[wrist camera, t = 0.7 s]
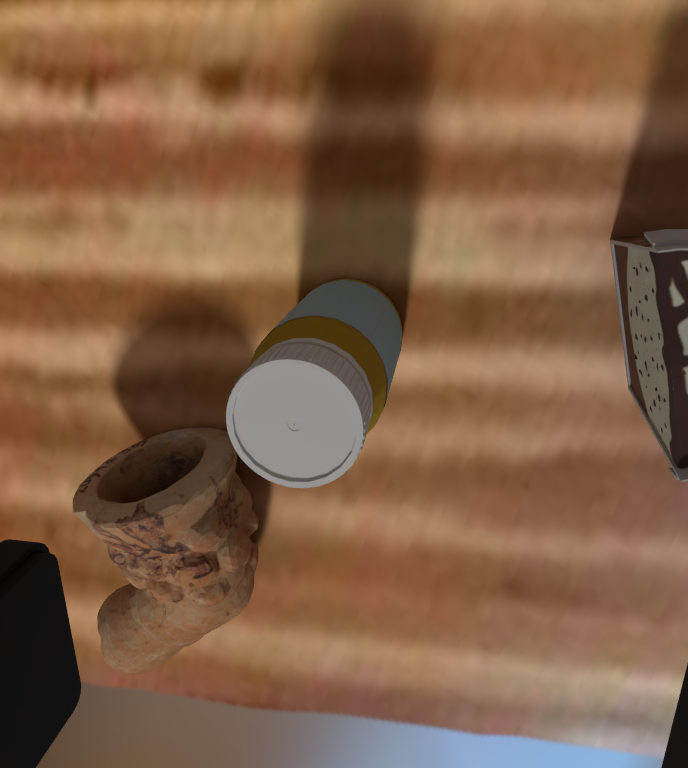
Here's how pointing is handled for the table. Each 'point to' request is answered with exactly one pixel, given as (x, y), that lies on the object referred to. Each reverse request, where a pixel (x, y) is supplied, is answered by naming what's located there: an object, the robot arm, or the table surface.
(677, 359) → the food container
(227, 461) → the clay pipe
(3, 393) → the table surface
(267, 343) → the bottle
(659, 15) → the table surface
